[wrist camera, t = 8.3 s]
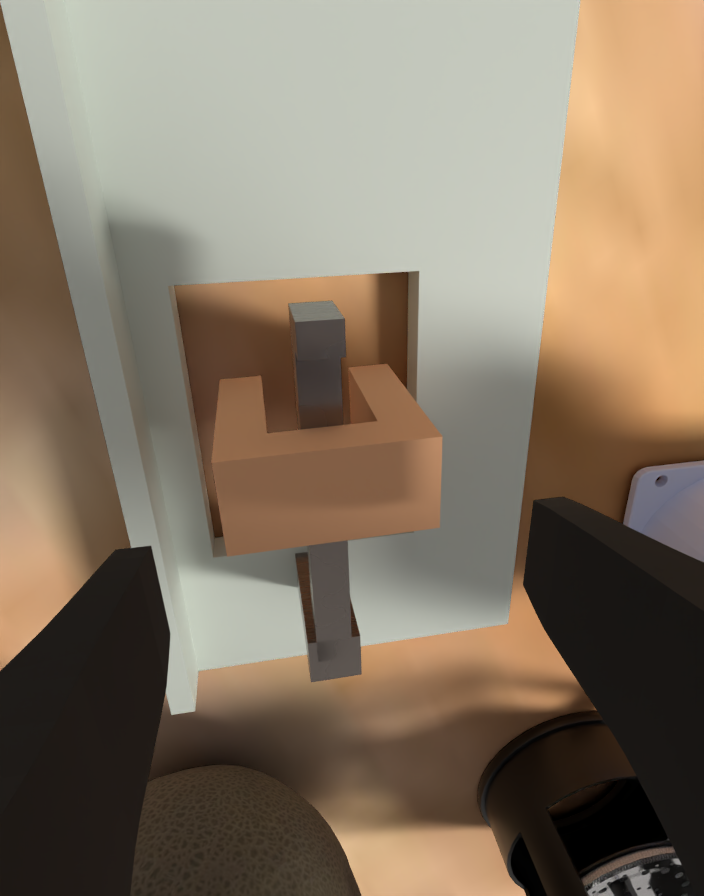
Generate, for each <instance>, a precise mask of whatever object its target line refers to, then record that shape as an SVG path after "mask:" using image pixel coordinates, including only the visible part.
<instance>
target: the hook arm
mask: <svg viewBox="0 0 704 896" xmlns="http://www.w3.org/2000/svg"><path fill="white" fill-rule="evenodd" d="M288 305H289V318H290V331H291V344H292V357H293V370H294V383H295V396H296V409H297V422H298V430H301V429H311V428H320V427H329V426H338V425H343V406H342V381H341V358H342V357H346V341H345V318H344V317H343V315H342V314H341V313H340V311H339V310H338V308H337V307H336V306H335V304H334V303H333V301H320V302H305V303H290V304H288ZM307 551H308V552H303V553H295V560H296V571H297V582H298V591H299V599H300V606H301V613H302V620H303V628H304V635H305V642H306V649H307V657H308V664H309V671H310V679H311V682H316V681H323V680H329V679H335V678H341V677H348V676H354V675H360V674H361V642H360V633H359V629H358V625H357V621H356V617H355V613H354V610H353V606H352V602H351V598H350V583H349V558H348V540H346V541H339V542H331V543H324V544H317V545H309V546H307Z"/></svg>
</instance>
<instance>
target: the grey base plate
mask: <svg viewBox="0 0 704 896" xmlns="http://www.w3.org/2000/svg"><path fill="white" fill-rule="evenodd" d="M0 3H1V7H2V12H3V16H4V20H5V24H6V28H7V32H8V37H9V41H10V45H11V49H12V53H13V57H14V62H15V66H16V70H17V74H18V78H19V82H20V87H21V91H22V95H23V99H24V103H25V107H26V112H27V116H28V120H29V124H30V128H31V132H32V137H33V141H34V145H35V149H36V153H37V157H38V162H39V166H40V170H41V174H42V178H43V182H44V187H45V191H46V195H47V199H48V203H49V207H50V212H51V216H52V220H53V224H54V228H55V232H56V237H57V241H58V245H59V249H60V253H61V257H62V262H63V266H64V270H65V274H66V278H67V282H68V287H69V291H70V295H71V299H72V303H73V307H74V312H75V316H76V320H77V324H78V328H79V332H80V337H81V341H82V345H83V349H84V353H85V357H86V362H87V366H88V370H89V374H90V378H91V382H92V387H93V391H94V395H95V399H96V403H97V407H98V412H99V416H100V420H101V424H102V428H103V432H104V437H105V441H106V445H107V449H108V453H109V457H110V462H111V466H112V470H113V474H114V478H115V482H116V487H117V491H118V495H119V499H120V503H121V507H122V512H123V516H124V520H125V524H126V528H127V532H128V537H129V541H130V545H131V548H135V547H143V546H151V547H152V552H153V556H154V561H155V565H156V570H157V574H158V579H159V583H160V588H161V592H162V597H163V602H164V606H165V611H166V615H167V620H168V624H169V629H170V633H171V634H170V650H169V664H168V676H167V687H166V695H167V699H168V703H169V707H170V712H171V715H175V714H181V713H187V712H194V711H195V707H196V696H197V684H198V672H199V671H202V670H209V669H215V668H222V667H229V666H235V665H242V664H248V663H255V662H261V661H268V660H274V659H281V658H287V657H294V656H301V655H307V649H306V642H305V635H304V628H303V620H302V613H301V606H300V599H299V591H298V582H297V571H296V560H295V553H303V552H308V551H307V546H302V547H295V548H287V549H280V550H272V551H265V552H258V553H250V554H243V555H236V556H228V557H227V553H226V547H225V541H224V537H217V538H215V537H214V531H213V524H212V518H211V512H210V506H209V500H208V493H207V487H206V481H205V475H204V469H203V463H202V456H201V450H200V444H199V438H198V432H197V425H196V419H195V413H194V407H193V401H192V394H191V388H190V382H189V376H188V370H187V363H186V357H185V351H184V345H183V339H182V332H181V326H180V320H179V314H178V308H177V301H176V295H175V289H174V286H175V285H192V284H209V283H225V282H242V281H259V280H276V279H292V278H309V277H326V276H343V275H359V274H376V273H393V272H408V344H407V390H408V392H409V393H410V394H411V396H412V397H413V398H414V400H415V401H416V402H417V404H418V405H419V406H420V407H421V409H422V410H423V411H424V413H425V414H426V415H427V417H428V418H429V419H430V421H431V422H432V423H433V425H434V426H435V427H436V429H437V430H438V431H439V432H440V434H441V435H442V436H443V438H442V471H441V504H440V528H434V529H427V530H419V531H412V532H405V533H397V534H390V535H383V536H375V537H368V538H361V539H353V540H348V558H349V583H350V598H351V602H352V606H353V610H354V613H355V617H356V621H357V625H358V629H359V633H360V642H361V646H366V645H373V644H379V643H386V642H392V641H399V640H405V639H412V638H418V637H425V636H431V635H438V634H445V633H451V632H458V631H464V630H471V629H477V628H484V627H490V626H497V625H503V624H508V618H509V610H510V601H511V593H512V584H513V575H514V567H515V558H516V549H517V541H518V532H519V524H520V515H521V506H522V498H523V489H524V481H525V472H526V463H527V455H528V446H529V438H530V429H531V420H532V412H533V403H534V395H535V386H536V377H537V369H538V360H539V352H540V343H541V334H542V326H543V317H544V309H545V300H546V291H547V283H548V274H549V266H550V257H551V248H552V240H553V231H554V223H555V214H556V205H557V197H558V188H559V180H560V171H561V162H562V154H563V145H564V137H565V128H566V119H567V111H568V102H569V94H570V85H571V76H572V68H573V59H574V51H575V42H576V33H577V25H578V16H579V8H580V0H0Z"/></svg>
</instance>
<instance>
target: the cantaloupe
mask: <svg viewBox="0 0 704 896" xmlns="http://www.w3.org/2000/svg"><path fill="white" fill-rule="evenodd" d="M130 896H361V893H360V890H359V888H358V885H357V883H356V880H355V878H354V875H353V873H352V870H351V868H350V865H349V862H348V859H347V856H346V854H345V852H344V850H343V848H342V846H341V844H340V842H339V841H338V839H337V837H336V836H335V834H334V832H333V831H332V829H331V827H330V826H329V825H328V823H327V822H326V821H325V819H324V818H323V817H322V816H321V814H320V813H319V812H318V811H317V810H316V809H315V808H314V807H313V806H312V805H311V804H310V803H308V802H307V801H306V800H305V799H303V798H302V797H301V796H300V795H298V794H297V793H296V792H295V791H293V790H292V789H291V788H289V787H288V786H287V785H285V784H283V783H281V782H280V781H278V780H276V779H275V778H273V777H271V776H269V775H267V774H265V773H263V772H260V771H257V770H254V769H250V768H246V767H243V766H236V765H210V766H203V767H196V768H191V769H186V770H183V771H179V772H175V773H172V774H168V775H165V776H162V777H159V778H156V779H154V780H151V781H149V782H147V787H146V791H145V796H144V801H143V806H142V811H141V816H140V822H139V828H138V834H137V841H136V847H135V856H134V865H133V874H132V883H131V893H130Z"/></svg>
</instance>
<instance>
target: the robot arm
mask: <svg viewBox="0 0 704 896" xmlns="http://www.w3.org/2000/svg"><path fill="white" fill-rule="evenodd" d="M659 476H661V477H660V479H659V480H658V481H656V479H657V478H658V477H659ZM655 481H656V482H655ZM523 585H524V588H525V590H526V592H527V594H528V596H529V599H530V601H531V603H532V605H533V607H534V610H535V612H536V614H537V616H538V618H539V620H540V622H541V624H542V626H543V628H544V630H545V631H546V633H547V634H548V636H549V638H550V639H551V641H552V642H553V644H554V645H555V647H556V648H557V650H558V652H559V653H560V655H561V656H562V658H563V659H564V661H565V662H566V664H567V665H568V667H569V668H570V670H571V671H572V673H573V675H574V676H575V678H576V679H577V681H578V682H579V684H580V685H581V687H582V688H583V690H584V691H585V693H586V694H587V696H588V697H589V699H590V700H591V702H592V703H593V705H594V706H595V708H596V709H597V711H598V712H599V714H600V715H601V717H602V718H603V720H604V721H605V723H606V724H607V726H608V727H609V729H610V730H611V732H612V734H613V735H614V737H615V739H616V740H617V742H618V744H619V745H620V747H621V749H622V750H623V752H624V754H625V755H626V757H627V759H628V761H629V763H630V765H631V767H632V769H633V770H634V772H635V774H636V776H637V778H638V780H639V782H640V784H641V786H642V787H643V789H644V791H645V793H646V795H647V797H648V799H649V801H650V802H651V804H652V806H653V808H654V810H655V812H656V814H657V816H658V818H659V820H660V822H661V824H662V826H663V828H664V830H665V832H666V834H667V836H668V838H669V840H670V842H671V844H672V846H673V848H674V850H675V852H676V854H677V856H678V858H679V860H680V862H681V864H682V866H683V868H684V870H685V873H686V875H687V877H688V879H689V881H690V883H691V885H692V888H693V890H694V892H695V894H696V896H704V460H703V461H694V462H686V463H677V464H669V465H660V466H651V467H645V468H642V469H640V470H639V471H637V472H636V474H635V475H634V477H633V479H632V483H631V488H630V493H629V498H628V502H627V507H626V512H625V517H624V521H623V524H622V523H620V522H618V521H615V520H613V519H611V518H609V517H607V516H605V515H603V514H601V513H599V512H597V511H595V510H593V509H591V508H589V507H586V506H584V505H582V504H580V503H577V502H575V501H573V500H570V499H568V498H565V497H557V498H548V499H540V500H534V501H533V509H532V517H531V525H530V533H529V541H528V549H527V557H526V565H525V573H524V581H523ZM170 634H171V633H170V629H169V624H168V620H167V615H166V611H165V606H164V602H163V597H162V592H161V588H160V583H159V579H158V574H157V570H156V565H155V561H154V556H153V552H152V547H151V546H143V547H135V548H127V549H118V550H115V551H114V552H113V553H112V554H111V555H110V556H109V557H108V559H107V560H106V561H105V562H104V563H103V564H102V565H101V566H100V567H99V568H98V570H97V571H96V572H95V573H94V574H93V575H92V576H91V577H90V579H89V580H88V581H87V582H86V583H85V584H84V585H83V586H82V588H81V589H80V590H79V591H78V592H77V593H76V594H75V595H74V596H73V598H72V599H71V600H70V601H69V602H68V603H67V604H66V605H65V606H64V607H63V608H62V610H61V611H60V612H59V613H58V614H57V615H56V616H55V617H54V618H53V619H52V620H51V621H50V622H49V623H48V625H47V626H46V627H45V628H44V629H43V630H42V631H41V632H40V633H39V634H38V635H37V636H36V637H35V638H34V639H33V640H32V641H31V642H30V643H29V644H28V645H27V646H26V647H25V648H24V649H23V650H22V651H21V652H20V653H19V654H18V655H16V656H15V657H14V658H13V659H12V660H11V661H10V662H9V663H8V664H7V665H6V666H5V667H4V668H3V669H2V670H1V671H0V896H130V893H131V883H132V874H133V865H134V856H135V847H136V841H137V834H138V828H139V822H140V816H141V811H142V806H143V801H144V796H145V791H146V787H147V782H148V777H149V772H150V767H151V762H152V757H153V752H154V747H155V743H156V738H157V733H158V728H159V723H160V718H161V713H162V708H163V703H164V698H165V692H166V687H167V676H168V664H169V650H170Z"/></svg>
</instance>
